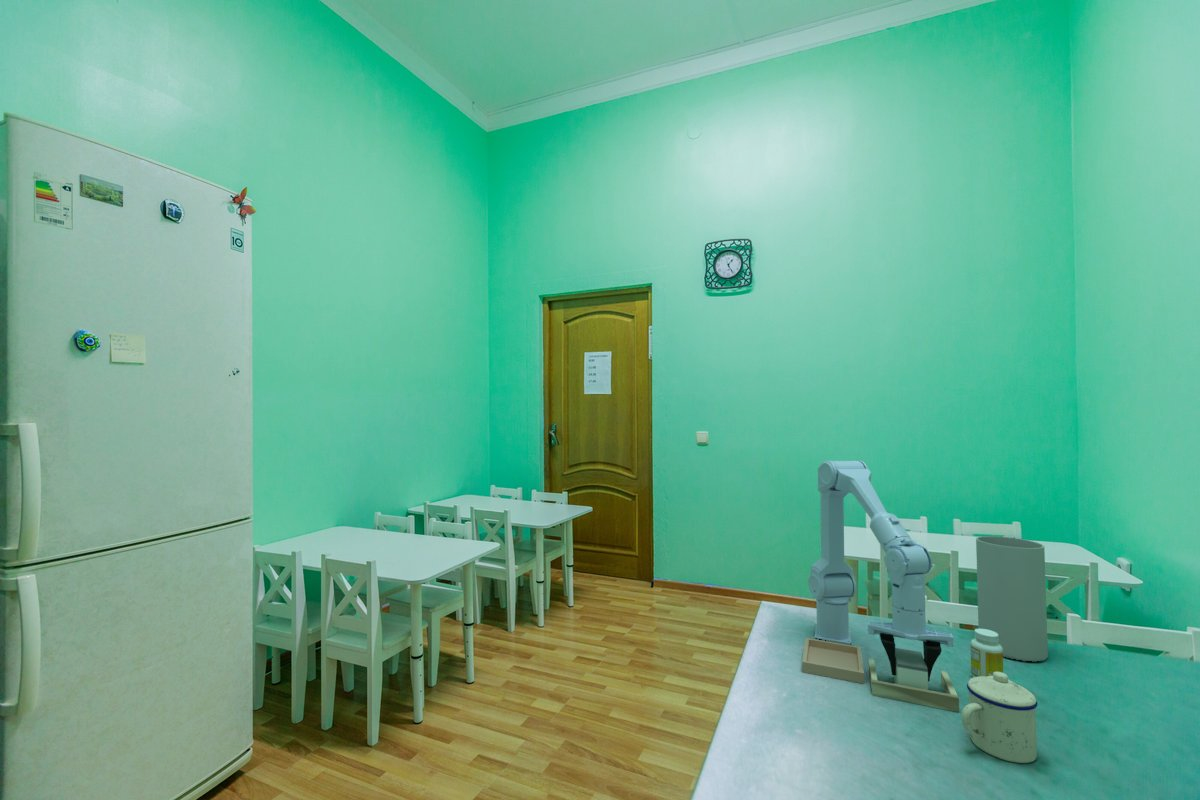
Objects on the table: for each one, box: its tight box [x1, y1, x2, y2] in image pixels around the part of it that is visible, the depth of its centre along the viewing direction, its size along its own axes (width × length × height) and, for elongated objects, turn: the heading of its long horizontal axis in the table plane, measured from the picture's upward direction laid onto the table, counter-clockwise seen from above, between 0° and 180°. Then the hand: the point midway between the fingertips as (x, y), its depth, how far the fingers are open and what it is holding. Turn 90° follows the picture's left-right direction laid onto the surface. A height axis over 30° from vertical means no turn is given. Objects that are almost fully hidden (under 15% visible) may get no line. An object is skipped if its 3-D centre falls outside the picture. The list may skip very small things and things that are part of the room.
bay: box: [868, 658, 960, 713], centre depth 102 cm, size 11×14×2 cm
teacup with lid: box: [960, 672, 1039, 764], centre depth 84 cm, size 12×9×12 cm
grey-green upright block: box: [893, 647, 929, 690], centre depth 102 cm, size 8×5×6 cm, turn 156°
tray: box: [801, 637, 865, 685], centre depth 112 cm, size 14×12×2 cm
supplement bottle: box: [970, 628, 1004, 678], centre depth 106 cm, size 5×5×10 cm
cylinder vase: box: [975, 535, 1049, 663], centre depth 120 cm, size 12×12×25 cm
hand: (909, 676), depth 102 cm, fingers closed on grey-green upright block, 5 cm apart
